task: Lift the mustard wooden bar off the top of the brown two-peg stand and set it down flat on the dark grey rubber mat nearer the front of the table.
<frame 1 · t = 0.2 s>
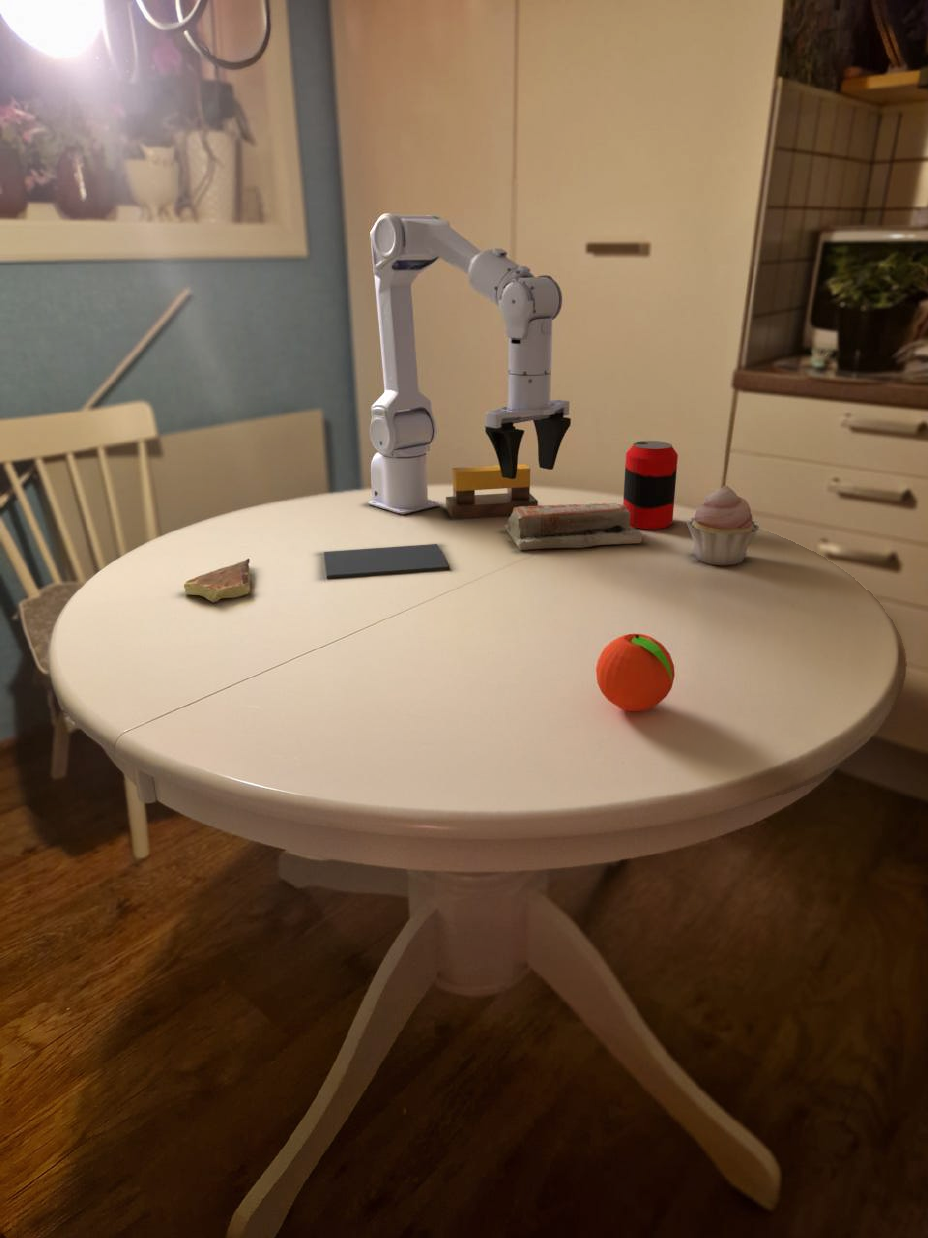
hand: (527, 472, 121), 10 cm above the table, tool pointing down, fingers open, 7 cm apart
shard: (219, 588, 109), on the table
soda can: (647, 524, 133), on the table
clementine: (636, 710, 79), on the table
brown two-peg stand: (491, 510, 140), on the table
cupcake: (718, 559, 117), on the table
packaged product: (572, 539, 126), on the table
mat: (384, 561, 118), on the table
bar: (491, 486, 139), point 4 cm above the table, touching brown two-peg stand
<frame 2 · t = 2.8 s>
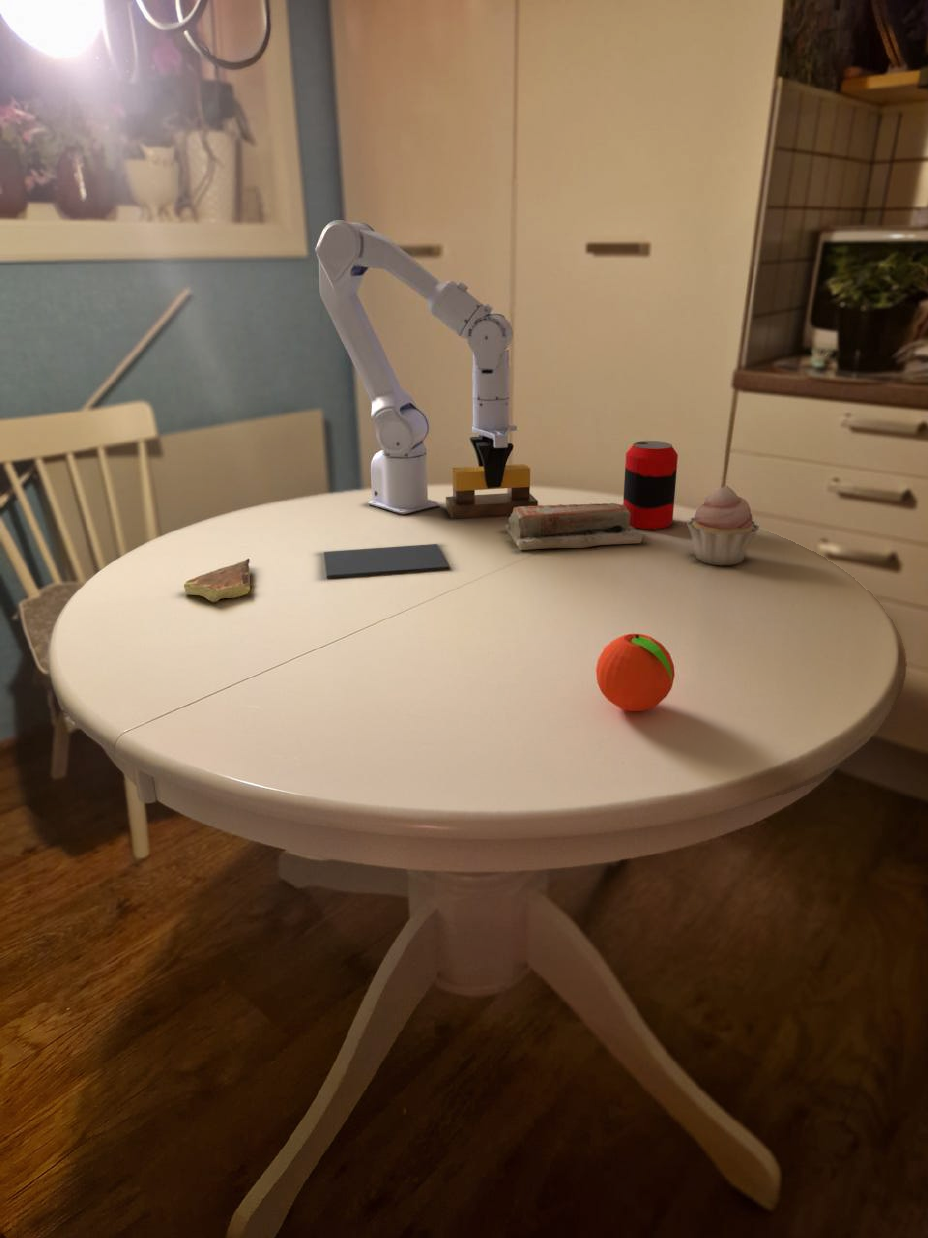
hand: (491, 484, 139), 4 cm above the table, tool pointing down, fingers closed on bar, 3 cm apart
bar: (491, 486, 139), point 4 cm above the table, touching gripper, brown two-peg stand
everything else where it was.
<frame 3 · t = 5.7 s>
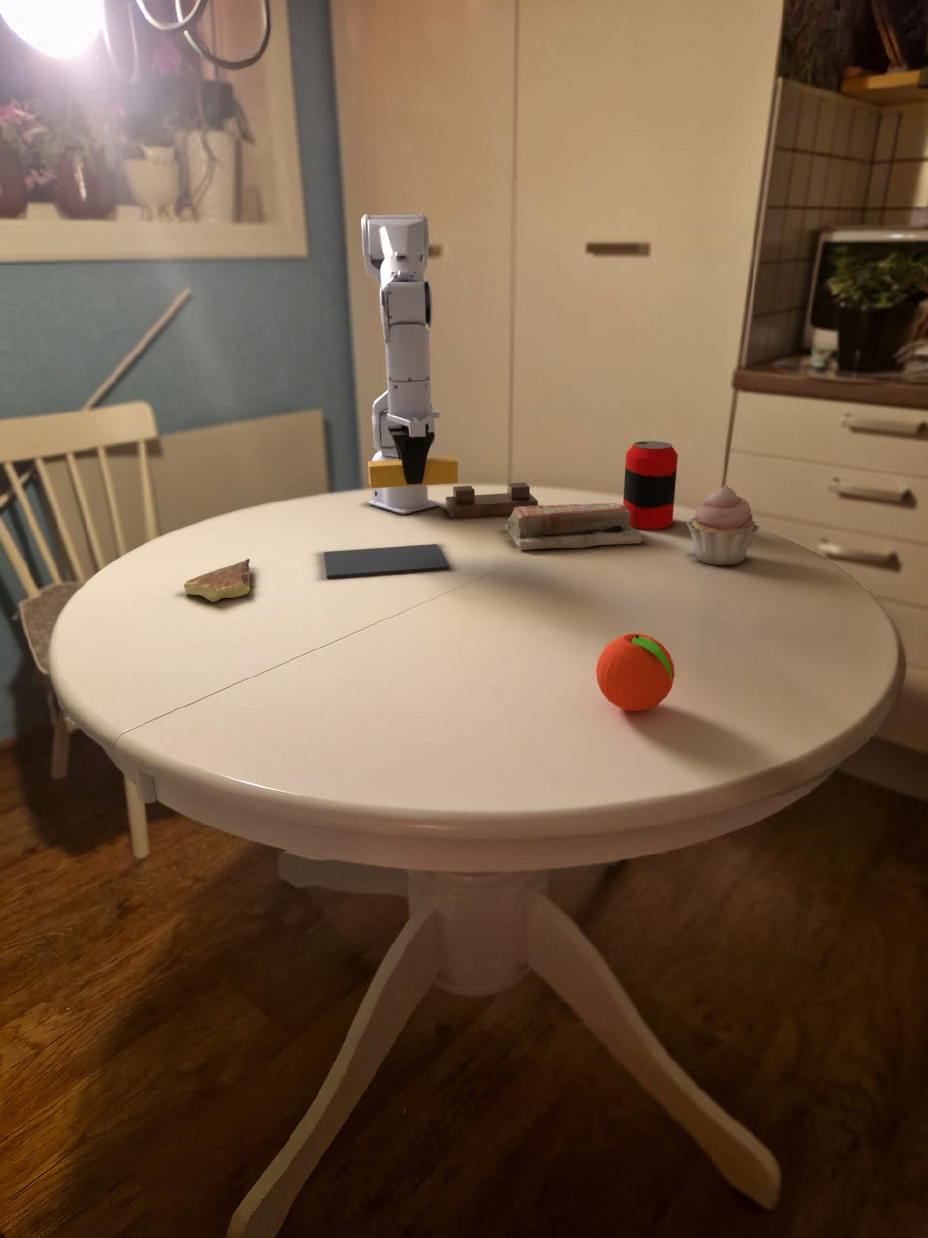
hand: (412, 480, 119), 10 cm above the table, tool pointing down, fingers closed on bar, 3 cm apart
bar: (413, 483, 120), point 9 cm above the table, touching gripper
everything else where it was.
when the fingers open (1 cm above the table, at t = 8.8 s): bar stays where it is, resting on mat.
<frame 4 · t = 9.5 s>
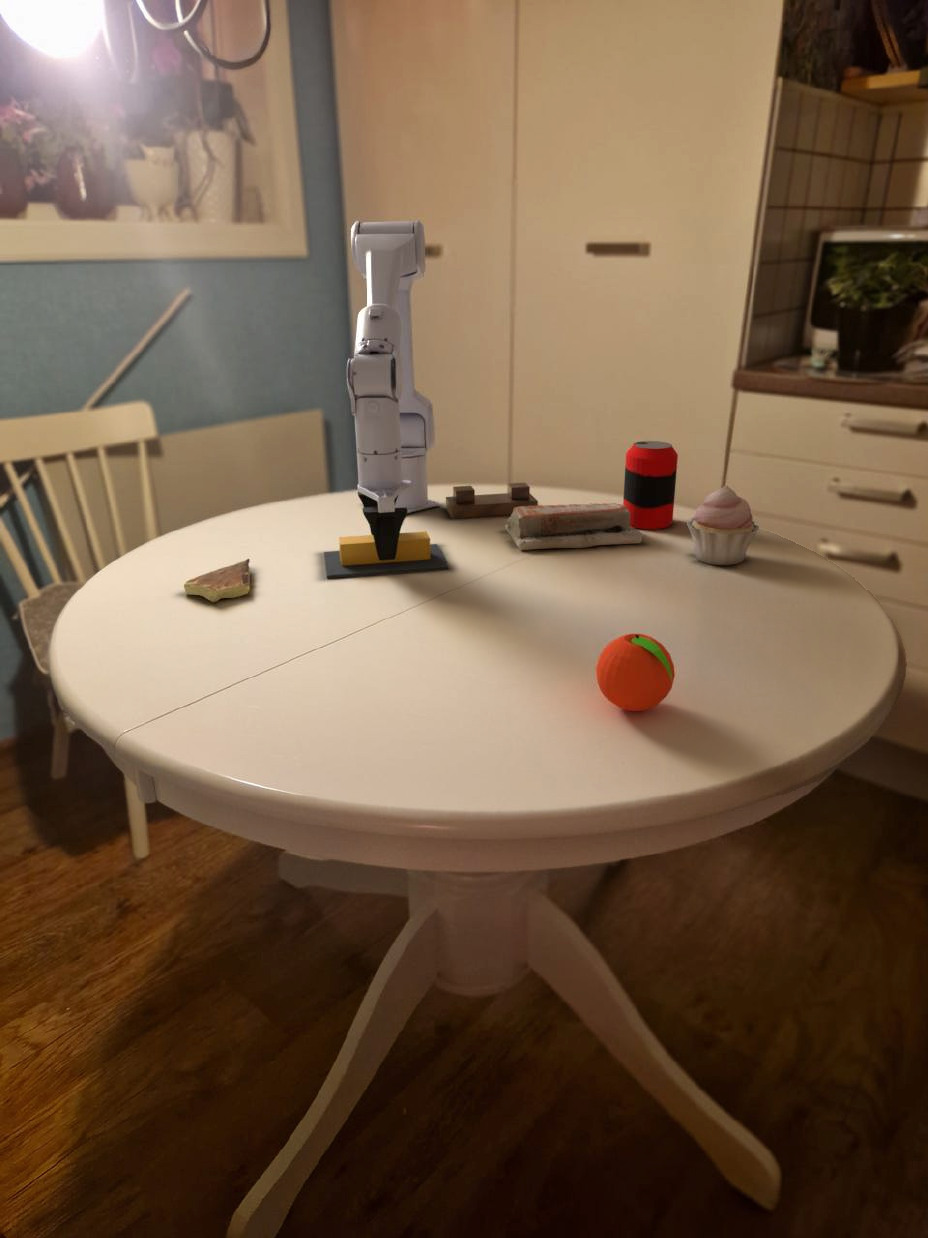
hand: (384, 550, 117), 2 cm above the table, tool pointing down, fingers open, 7 cm apart
bar: (385, 558, 117), resting on mat
everything else where it was.
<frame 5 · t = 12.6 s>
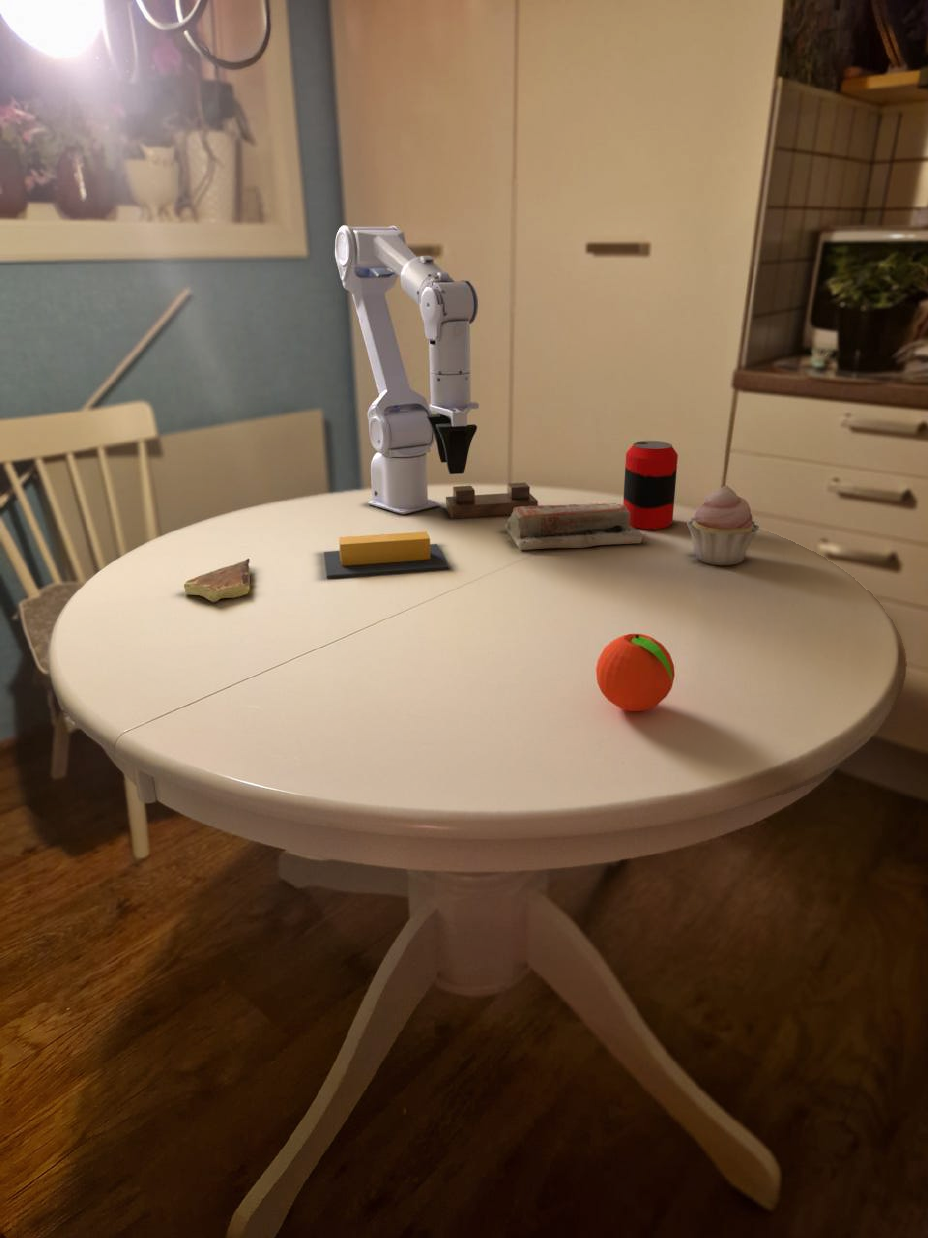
hand: (451, 467, 128), 9 cm above the table, tool pointing down, fingers open, 7 cm apart
nothing on the table moved.
at the end: bar inside the target area on the mat (0.1 cm from its centre), point 0.4 cm above the mat's base; bar tilted 0°; the gripper is holding nothing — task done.
